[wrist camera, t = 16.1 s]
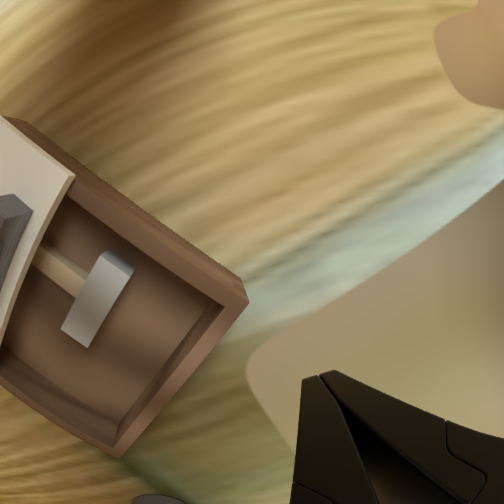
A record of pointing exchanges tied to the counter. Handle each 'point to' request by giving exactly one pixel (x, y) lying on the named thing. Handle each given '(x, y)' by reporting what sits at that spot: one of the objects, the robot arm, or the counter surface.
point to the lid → (24, 208)
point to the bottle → (156, 500)
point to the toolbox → (111, 313)
